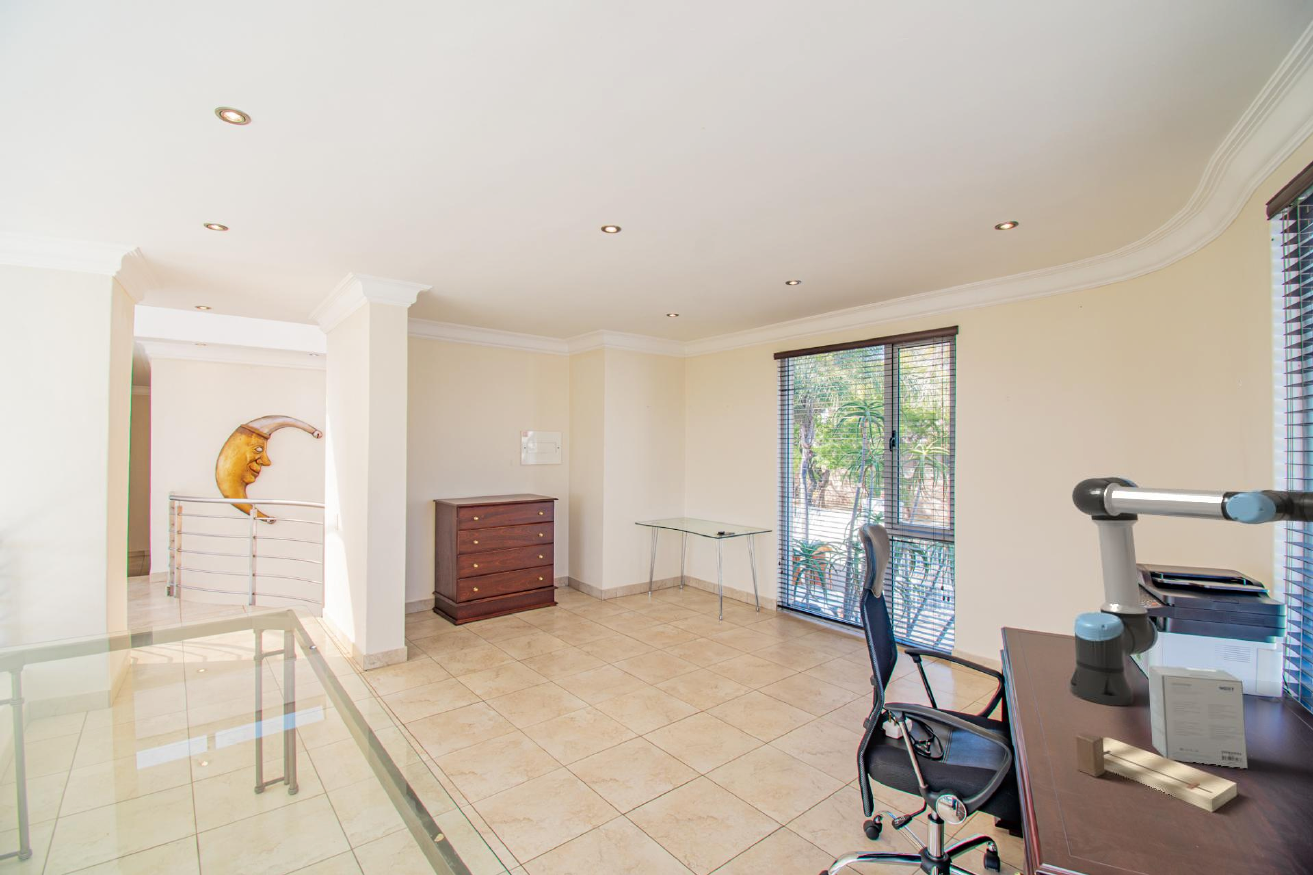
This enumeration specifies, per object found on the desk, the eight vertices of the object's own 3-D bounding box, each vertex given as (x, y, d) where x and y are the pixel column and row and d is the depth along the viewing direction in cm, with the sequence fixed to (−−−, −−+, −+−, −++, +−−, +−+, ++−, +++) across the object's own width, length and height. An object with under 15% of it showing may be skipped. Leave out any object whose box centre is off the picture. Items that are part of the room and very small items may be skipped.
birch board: (1080, 759, 141) (1080, 748, 141) (1106, 747, 147) (1106, 736, 147) (1212, 812, 120) (1211, 798, 120) (1236, 795, 126) (1236, 782, 126)
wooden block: (1095, 778, 133) (1094, 741, 133) (1076, 770, 136) (1074, 734, 137) (1105, 773, 135) (1104, 737, 135) (1085, 765, 138) (1084, 730, 138)
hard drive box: (1229, 754, 142) (1225, 670, 143) (1249, 770, 135) (1245, 681, 136) (1150, 745, 148) (1147, 663, 148) (1165, 760, 140) (1162, 674, 141)
